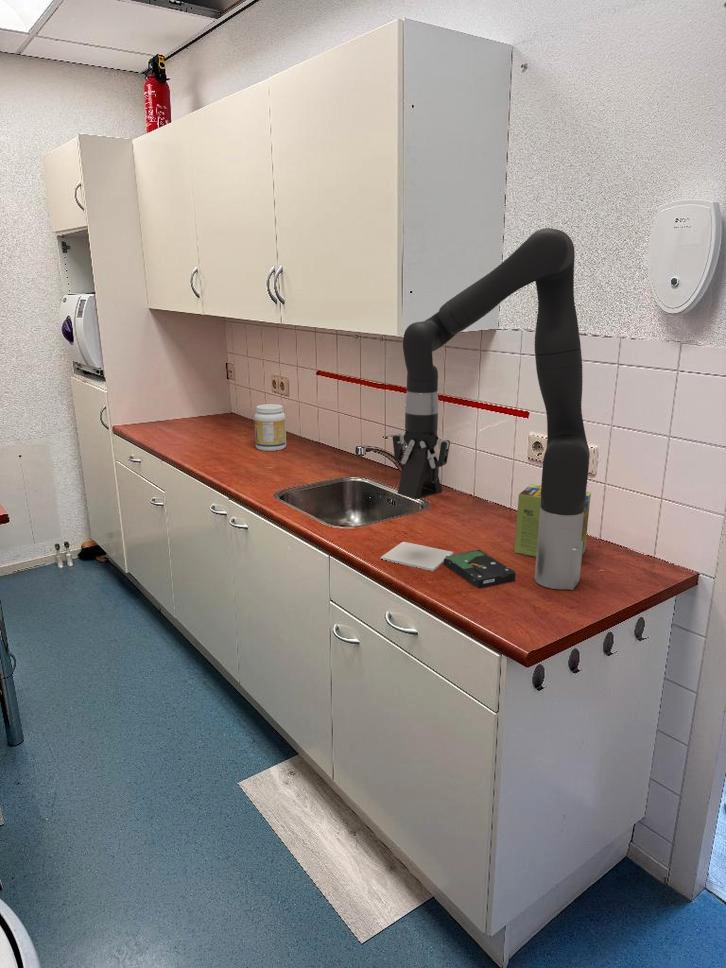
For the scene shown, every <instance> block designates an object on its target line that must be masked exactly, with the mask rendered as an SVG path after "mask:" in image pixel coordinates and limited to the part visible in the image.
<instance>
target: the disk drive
mask: <svg viewBox="0 0 726 968" xmlns="http://www.w3.org/2000/svg"><path fill="white" fill-rule="evenodd" d="M443 566H445V567H446V568H447V569H449V570H450V571H452V572H453V573H455V574H456V575H458V576H459V577H460V578H462V579H463V580H465V581H466V582H467V583H469V584H471V586H473V587H475V588H477V589H482V588H487V587H492V586H496V585H502V584H506V583H511V582H516V574H517V573H516V571H514V570H513V569H512V568H510V567H509V566H506V565H504V564H503V563H502V562H500V561H498V560H497V559H495V558H493V557H492V556H491V555H489V554H487V553H485V552H483V551H482V550H480V549H477V550H471V551H466V552H460V553H459V554H458V553H457V554H454V555H452V556H446V558H444V563H443Z"/></svg>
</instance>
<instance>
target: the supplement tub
mask: <svg viewBox="0 0 726 968" xmlns="http://www.w3.org/2000/svg"><path fill="white" fill-rule="evenodd" d="M283 411H284V405H282V404H276V403H272V404H271V403H267V404H260V405H259V404H258V405H257V406H256V413H255V414H254V434H255V435H254V436H255V448H256V449H258V450H260V451H264V452H272V451H273V452H277V451H281V450H283V449H285V448H286V447H287V429H286V428H287V427H286V418H287V417H286V414H285V413H284V412H283ZM276 450H277V451H276Z"/></svg>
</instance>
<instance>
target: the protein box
mask: <svg viewBox="0 0 726 968" xmlns="http://www.w3.org/2000/svg"><path fill="white" fill-rule="evenodd" d="M591 496H592V492H591V491H586V500H585V508H584V516H583V526H582V537H581V541H583V550H582V556H583V554H584V553H585V552H586V544H587V536H588V526H589V524H588V523H589V515H590V503H591ZM540 505H541V485H540V484H534V483H533V484H532V483H531V484H529V485H528V486H527V487H525V489H524V490H522V491H521V492H520V493H519V494H518V501H517V515H516V526H515V527H516V528H515V539H514V549H513V550H514V552H513V553H516V554H519V555H520V554H521V555H524V556H530V557H535V558H536V554H537V542H538V530H539V518H540Z"/></svg>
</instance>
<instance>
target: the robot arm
mask: <svg viewBox="0 0 726 968" xmlns="http://www.w3.org/2000/svg"><path fill="white" fill-rule="evenodd" d="M575 253H576V252H575V245H574V243H573V240H572V239H571V237H570V236H569V234H567V233H566V232H565V231H563V230H560V229H557V228H552V227H551V228H549V227H546V228H540V229H538V230H536V231H534V232H533V233H532V234H531V235H530V236H528V238H527V239H526V240H525V241H524V242H523V243H522V244H521V245H520V246H519V247H518V248H517V249H516V250H515V251H513V253H511V254H510V256H508V257H507V258H506V259H505V260H503V262H501V263H500V264H499V265H498V266H496V267H494V269H492V270H491V271H490V272H489V273H487V274H486V275H485V276H483V277H481V278H480V279H479V280H476V282H475V281H474V283H473V284H471V285H469V286H468V287H466V288H465V289H463V290H462V291H461V292H459V293H457V294H456V295H455V296H454V297H452V298H450V299H448V300H447V301H446V302H445V303H444V304H443V305H441V307H439V310H438V311H437V312H436V313H434V314H433V315H432V316H430V317H429V318H427V319H425V320H423V321H417V322H412V323H410V324H409V325H408V326H407V327H406V329H405V330H404V333H403V336H402V337H403V338H402V349H403V350H402V351H403V357H404V362H405V366H406V371H407V372H406V373H407V374H406V394H405V403H404V404H405V405H404V410H405V411H404V412H405V414H404V417H405V418H404V431H405V433H404V434H396V435H393V436H392V445H393V454H394V460H395V461H396V462H400V463H401V464H402V467H401V468H402V469H401V470H402V472H401V473H403V470H404V466H405V464H406V462H407V460H408V459H409V457H410V455H411V452H413V450H414V448H416V447H418V446H421V448H422V449H423V448H426V447H427V446H428V447H429V448H428V449H427V451H426V456H427V458H428V459H429V463H430V466H431V468H430V483H432V484H433V483H435V482H436V481H437V480H438V477H439V471H440V470H439V468H441V467H443V466H445V465H446V464H447V463H448V458H449V453H450V452H449V451H450V447H451V441H450V439H446V440H443V439H440V438H439V436H438V426H439V425H438V421H439V394H438V390H439V389H438V386H439V384H438V383H439V371H438V368H437V366H435V365H434V362H433V360H434V359H433V352H435V351H437V350H438V349H440V348H441V347H443V346H444V345H445V344H447V343H448V342H449V341H451V340H452V339H453V338H454V337H455V336H457V334H459V333H460V332H463V331H464V330H466V329H467V328H469V327H470V326H472V325H473V324H475V323H476V322H478V321H479V320H481V319H482V318H483V317H485V316H487V314H489V313H490V312H491V311H492V310H494V309H495V308H496V307H497V306H498V305H499V304H501V303H502V302H504V300H506V299H507V298H508V297H510V296H511V295H513V294H514V293H516V292H517V291H518V290H520V289H522V288H524V287H526V286H528V285H530V284H532V283H534V282H535V287H536V294H537V304H538V305H537V308H538V309H537V316H536V324H535V332H534V354H535V355H534V357H535V368H536V374H537V381H538V386H539V390H540V394H541V397H542V400H543V403H544V406H545V412H546V429H547V430H546V432H547V434H546V435H547V439H546V449H545V452H544V454H543V459H542V460H543V461H542V468H541V469H542V471H541V472H542V473H541V505H540V518H539V530H538V542H537V554H536V557H535V568H534V581H535V582H536V583H537V584H538V585H540V586H542V587H545V588H547V589H552V590H553V589H554V590H571V591H573V590H574V589H575V587H576V586H577V585H578V583H579V582H580V579H581V578H580V577H581V569H582V568H581V567H582V558H583V555H582V550H583V541H581V537H582V526H583V516H584V508H585V500H586V492H587V488H588V487H587V486H588V479H589V469H590V468H589V467H590V448H589V444H588V440H587V435H586V430H585V426H584V419H583V410H582V401H583V398H582V397H583V356H582V346H581V339H580V330H579V324H578V323H579V321H578V317H577V310H576V303H575V288H574V287H575V285H574V284H575V283H574V282H575V255H576V254H575ZM404 442H405V444H406V446H407V448H406V449H405V450H404ZM436 446H438V450H439V453H438V454H439V455H438V454H437V451H436V448H435V447H436ZM432 448H434V454H432V455H431V454H430V452H431V451H432ZM433 457H434V459H433Z"/></svg>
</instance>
